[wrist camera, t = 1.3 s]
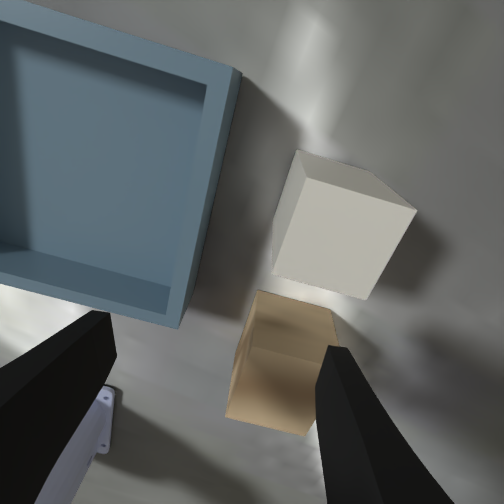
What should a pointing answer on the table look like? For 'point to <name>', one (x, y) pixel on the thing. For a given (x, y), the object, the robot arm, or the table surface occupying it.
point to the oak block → (280, 363)
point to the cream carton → (336, 226)
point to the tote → (106, 162)
